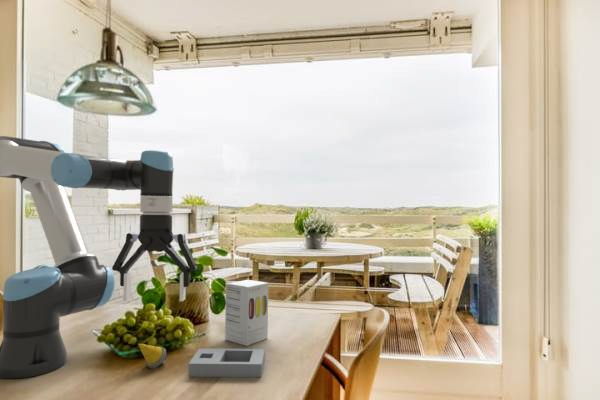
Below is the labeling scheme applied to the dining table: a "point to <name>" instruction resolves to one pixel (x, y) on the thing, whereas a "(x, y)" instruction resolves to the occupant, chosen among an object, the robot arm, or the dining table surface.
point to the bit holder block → (227, 363)
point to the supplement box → (246, 312)
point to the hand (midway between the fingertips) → (154, 299)
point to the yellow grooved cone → (153, 355)
